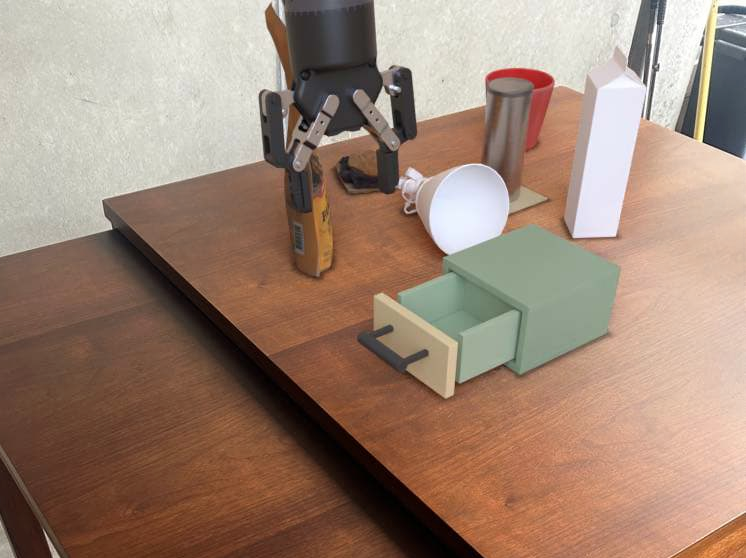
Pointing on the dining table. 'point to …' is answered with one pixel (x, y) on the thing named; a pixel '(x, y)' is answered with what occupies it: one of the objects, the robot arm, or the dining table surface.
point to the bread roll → (359, 172)
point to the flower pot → (539, 96)
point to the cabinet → (543, 289)
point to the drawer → (443, 331)
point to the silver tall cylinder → (507, 130)
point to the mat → (526, 200)
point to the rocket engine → (458, 205)
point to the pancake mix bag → (314, 227)
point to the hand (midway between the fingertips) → (346, 201)
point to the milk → (604, 148)
